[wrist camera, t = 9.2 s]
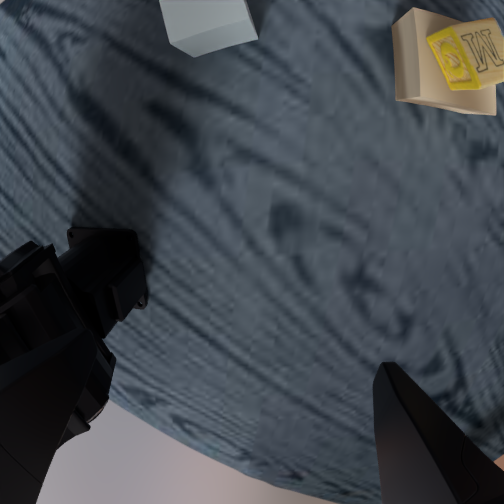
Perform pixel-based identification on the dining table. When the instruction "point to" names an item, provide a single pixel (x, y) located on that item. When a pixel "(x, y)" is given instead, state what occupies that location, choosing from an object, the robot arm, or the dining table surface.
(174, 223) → the dining table surface
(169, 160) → the dining table surface
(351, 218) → the dining table surface
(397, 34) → the beech block
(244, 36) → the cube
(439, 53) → the alphabet block
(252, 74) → the dining table surface
